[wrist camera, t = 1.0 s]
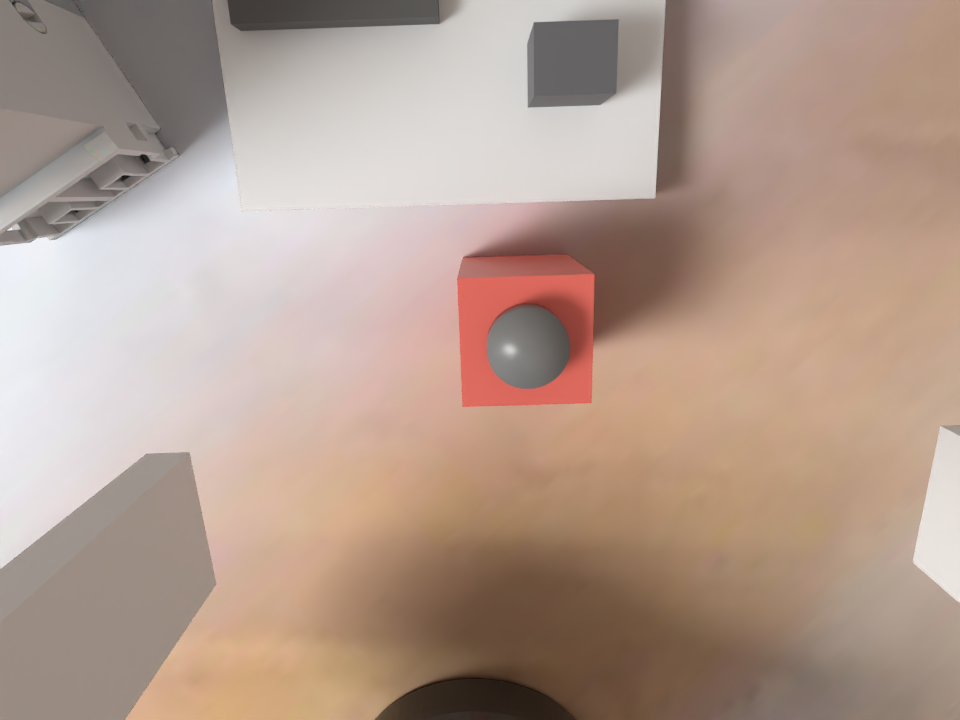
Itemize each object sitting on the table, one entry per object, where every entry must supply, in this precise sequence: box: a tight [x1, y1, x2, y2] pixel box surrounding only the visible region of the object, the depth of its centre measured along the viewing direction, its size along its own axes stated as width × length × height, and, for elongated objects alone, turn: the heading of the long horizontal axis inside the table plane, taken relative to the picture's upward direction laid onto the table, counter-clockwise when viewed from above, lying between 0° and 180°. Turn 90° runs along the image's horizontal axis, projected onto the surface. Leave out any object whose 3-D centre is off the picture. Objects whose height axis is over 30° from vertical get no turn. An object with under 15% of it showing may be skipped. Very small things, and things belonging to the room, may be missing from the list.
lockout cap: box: [457, 254, 595, 407], centre depth 24 cm, size 5×5×8 cm
